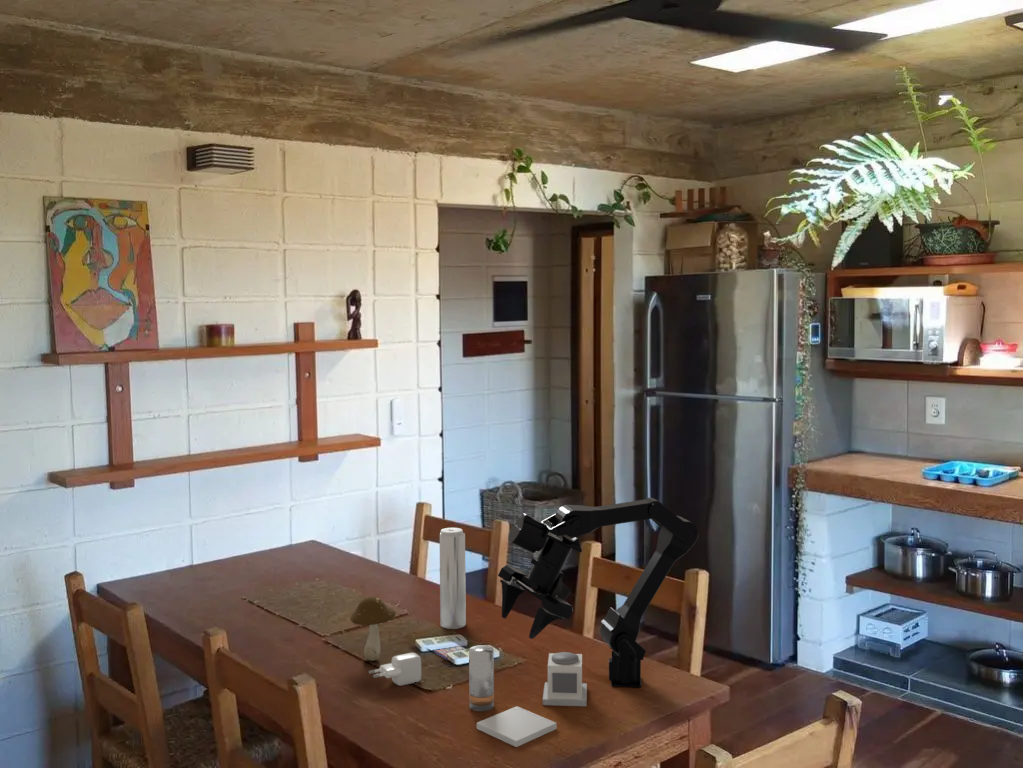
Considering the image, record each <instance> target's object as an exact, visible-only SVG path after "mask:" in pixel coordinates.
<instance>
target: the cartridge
mask: <svg viewBox="0 0 1023 768" xmlns="http://www.w3.org/2000/svg"><path fill="white" fill-rule="evenodd" d="M468 650H469V664H468V669H469V670H468V674H469V675H468V676H469V678H468V680H469V681H468V683H469V685H468V689H469V691H468V692H469V693H468V701H469V709H470V710H472V711H475V712H487V711H491V710H493V708H494V707H495V685H494V684H495V682H494V681H495V680H494V679H495V675H494V674H495V673H494V668H495V667H494V665H495V664H494V663H495V662H494V661H495V660H494V659H495V658H494V655H495V654H494V653H495V651H494V647H493V646H491V645H483V644H482V645H481V644H478V645H474V646H471V647H469V649H468Z"/></svg>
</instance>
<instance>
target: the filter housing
mask: <svg viewBox="0 0 1023 768" xmlns="http://www.w3.org/2000/svg"><path fill="white" fill-rule="evenodd" d="M587 684H588V683H585V682H583V654H582V653H574V652H568V651H561V652H556V653H553V652H552V653H551V652H549V653H548V660H547V681H546V682H544V686H543V694H542V706H563V707H564V706H566V707H567V706H568V707H587V701H588V700H587V699H588V698H587V695H588V694H587V693H588V689H587V688H588V685H587Z"/></svg>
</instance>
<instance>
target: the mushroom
mask: <svg viewBox="0 0 1023 768" xmlns="http://www.w3.org/2000/svg"><path fill="white" fill-rule="evenodd" d="M396 613H397V612H396V611H395V609H394V608H392V607H390V606H388V605H386V604H385V602H384V601H383V600H382V599H381V598H379V597H378V596H373V595H370V596H366V597H364V598H363V599H362V600H361V601H359V603H358V605H357V607H356V608H355V610H354V611H353V612H351V614H350V617H349V619H350V622H352V624H355V625H359V626H369V632H368V636H367V640H366V643H365V645H364V650H363V651H364V652H363V655H364V657H365V660H368V661H371V662H372V661H376V660H378V659H379V657H380V655H381V640H380V633H379V624H383V623H387V622H390V621H391V620H393V618H394V617H395V616H396Z"/></svg>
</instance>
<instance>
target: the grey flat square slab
mask: <svg viewBox="0 0 1023 768" xmlns="http://www.w3.org/2000/svg"><path fill="white" fill-rule="evenodd" d="M557 727H558V725H557V722H555V721H553V720H550V719H548V718H546V717H543V716H542V715H539V714H536V713H534V712H531V711H529V710H528V709H525V708H522V707H520V706H517V705H516V706H514V707H512V708H511V707H510V708H509V709H507V710H504V711H502V712H500V713H497V714H494V715H492V716H490V717H486V718H485V719H483V720H480V721H477V722H476V729H477V730H478V731H481V732H482V733H485V734H487V735H489V736H491V737H494V738H495V739H498V740H500V741H502V742H504V743H506V744H508V745H510V746H513V747H514V748H517V747H520V746H522V745H524V744H527V743H529V742H531V741H533V740H535V739H537V738H539V737H542V736H544V735H546V734H548V733H551V732H553V731H555V730H557V729H558V728H557Z"/></svg>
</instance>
